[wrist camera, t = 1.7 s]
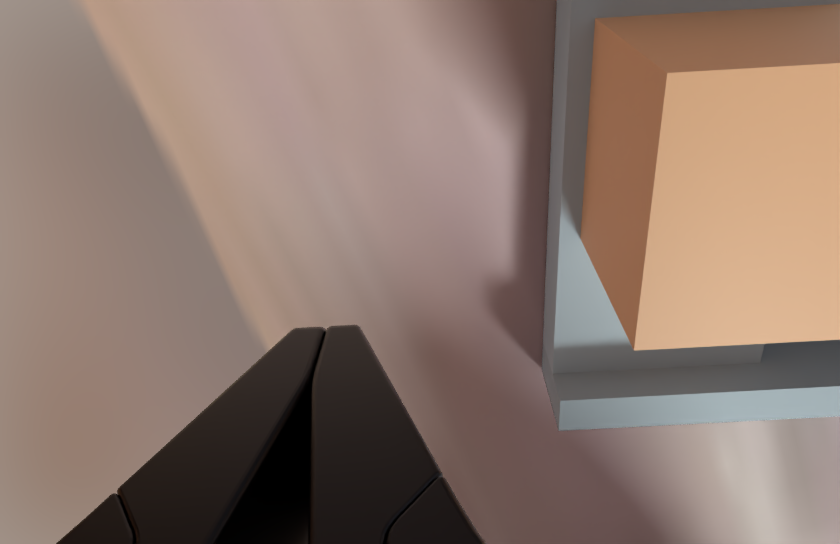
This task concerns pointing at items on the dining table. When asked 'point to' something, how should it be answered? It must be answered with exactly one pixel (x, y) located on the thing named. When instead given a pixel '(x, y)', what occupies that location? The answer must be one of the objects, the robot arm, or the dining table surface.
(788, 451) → the dining table surface
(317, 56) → the dining table surface
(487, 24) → the dining table surface
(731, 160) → the block
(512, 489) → the dining table surface
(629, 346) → the box
